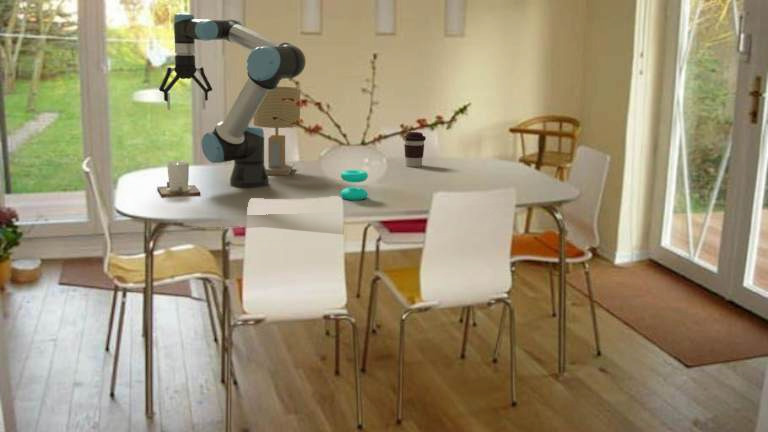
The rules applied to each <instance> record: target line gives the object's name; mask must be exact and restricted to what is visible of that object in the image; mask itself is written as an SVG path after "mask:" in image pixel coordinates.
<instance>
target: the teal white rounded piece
mask: <svg viewBox="0 0 768 432" xmlns="http://www.w3.org/2000/svg"><path fill="white" fill-rule="evenodd" d="M340 177H341V179H342V180H343V181H344V182H346V183H347V182H348V183H362V182H365V181H366V180H367V179H368V178H369V174H368V173H367V172H366V171H365V170H361V169H346V170H344V171H343V170H342V172H341V173H340ZM340 196H341V198H342V199H344V200H346V201H347V200H349V201H361V200H365V199H366V198H367V197H368V191H367V190H366V189H365V188H361V187H357V186H355V187H354V186H353V187H351V186H350V187H346V188H344V189H342V190H341V192H340Z"/></svg>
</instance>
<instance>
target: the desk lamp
mask: <svg viewBox="0 0 768 432" xmlns="http://www.w3.org/2000/svg"><path fill="white" fill-rule="evenodd" d="M283 98H293V99H294V100H295V101H300V102H301V88H298V87H293V86H277V87H276V88H275V89H273V90H269V92H268V93H267V95H266V97H265V98H264V100H263V102H262V103H261V105H260V107H259V108H258V110H257V112H256V113H255V115H254V117H253V125H254V127H260V128H272V129H275V130H274V134H272V135H271V136H269V137H268V138H267V139H268V140H267V141H268V143H267V144H268V147H267V151H268V155H267V157H268V158H267V159H268V162H264V166H265V169H266V172H267V175H275V176H276V175H279V176H280V175H283V176H286V175H287V176H288V175H290V173H291V172H292V170H293V168H294V166H295V165H296V164H295V163H292V162H291V163H289V162H287V163H286V135H285V134H284V135H282V134H280V135H279V129H280V128H281V129H285V128H294V127H295V128H296V127H297V126H291V125H290V124H289V123H287V122H290V123H291V122H294V121H295V120H297V119H300V120H301V106H300V107H297V106H296V105H295V104H294V103H292V102H290V101H281V99H283ZM272 117H281V118H282V119H284V120H285V121H287V122H284V121H281V120H278V119H277V120H273V118H272Z"/></svg>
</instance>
